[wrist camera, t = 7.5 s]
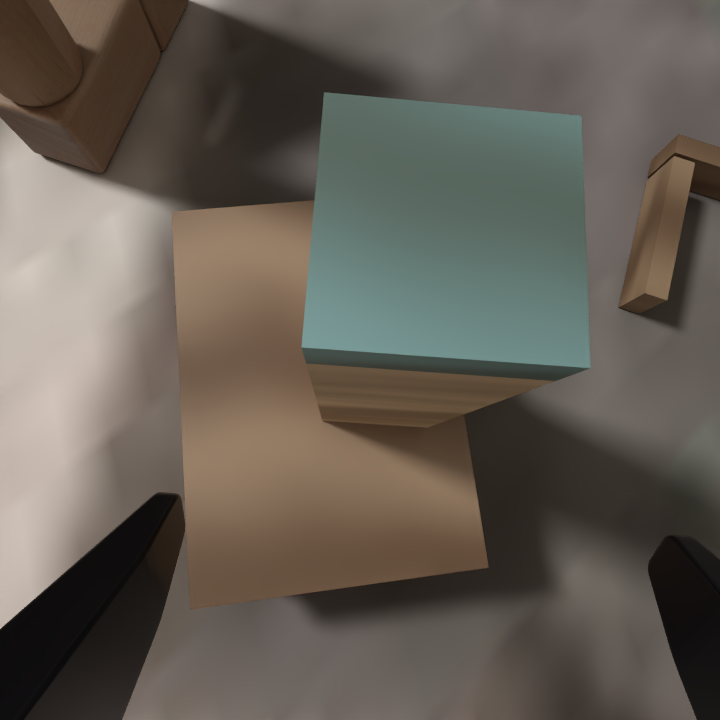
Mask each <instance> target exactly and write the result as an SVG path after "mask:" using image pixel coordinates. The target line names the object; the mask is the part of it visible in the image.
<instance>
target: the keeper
mask: <svg viewBox="0 0 720 720" xmlns="http://www.w3.org/2000/svg"><path fill="white" fill-rule="evenodd" d="M648 177H649V179H648V180H647V183H646V187H645V191H644V196H643V200H642V205H641V209H640V214H639V218H638V223H637V227H636V232H635V236H634V241H633V245H632V249H631V254H630V258H629V263H628V267H627V272H626V276H625V281H624V285H623V290H622V294H621V299H620V303H619V308H622V309H625V310H628V311H631V312H634V313H637V314H640V313H642V312H644V311H647V310H649V309H651V308H653V307H655V306H657V305H659V304H661V303H663V302H665V301H667V299H668V295H669V290H670V285H671V280H672V275H673V270H674V265H675V260H676V255H677V250H678V245H679V240H680V235H681V230H682V225H683V220H684V215H685V210H686V205H687V200H688V195H689V191H692V192H695V193H698V194H701V195H704V196H708V197H711V198H714V199H717V200H720V147H717V146H714V145H710V144H707V143H704V142H701V141H698V140H695V139H692V138H689V137H686V136H683V135H678V136H676V137H675V138H674V139H673V140H672V141H671V142H670V143H669V144H668V145H667V146H666V147H665V148H664V149H663V150H662V151H661V152H660V153H659V154H658V155H656V156H655V157H654V158H653V159H652V160H651V165H650V169H649V174H648Z"/></svg>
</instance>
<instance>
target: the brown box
mask: <svg viewBox="0 0 720 720" xmlns="http://www.w3.org/2000/svg"><path fill="white" fill-rule="evenodd" d="M313 211H314V200H311V201H298V202H286V203H274V204H261V205H249V206H236V207H224V208H212V209H199V210H187V211H174V212H172V228H173V250H174V271H175V293H176V315H177V336H178V358H179V380H180V401H181V423H182V445H183V466H184V488H185V510H186V531H187V553H188V575H189V596H190V609H197V608H204V607H211V606H219V605H226V604H233V603H240V602H247V601H254V600H261V599H269V598H276V597H283V596H290V595H297V594H304V593H312V592H319V591H326V590H333V589H340V588H347V587H354V586H362V585H369V584H376V583H383V582H390V581H397V580H404V579H412V578H419V577H426V576H433V575H440V574H447V573H454V572H462V571H469V570H476V569H483V568H489V566H488V560H487V554H486V548H485V541H484V535H483V529H482V523H481V516H480V510H479V504H478V498H477V491H476V485H475V479H474V473H473V466H472V460H471V454H470V448H469V441H468V435H467V429H466V423H465V416H464V415H461V416H458V417H456V418H453V419H450V420H447V421H445V422H442V423H439V424H436V425H434V426H431V427H428V428H421V427H405V426H390V425H375V424H360V423H345V422H330V421H322V418H321V414H320V411H319V407H318V404H317V400H316V397H315V393H314V390H313V386H312V383H311V379H310V376H309V372H308V369H307V365H306V362H305V358H304V355H303V351H302V348H301V347H302V335H303V324H304V313H305V302H306V290H307V279H308V268H309V256H310V245H311V234H312V223H313Z"/></svg>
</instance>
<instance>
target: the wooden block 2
mask: <svg viewBox="0 0 720 720" xmlns="http://www.w3.org/2000/svg"><path fill="white" fill-rule="evenodd" d="M187 2H188V0H0V117H1V118H2V120H3V121H4V122H5V123H6V124H7V125H8V126H9V127H10V128H11V129H12V130H13V131H14V132H15V133H16V134H17V135H18V136H19V137H20V138H21V139H22V140H23V141H24V142H25V143H26V144H27V145H28V146H29V147H30V148H31V149H32V150H33V151H34V152H35V153H38V154H41V155H44V156H47V157H50V158H53V159H57V160H60V161H63V162H66V163H69V164H72V165H75V166H78V167H81V168H84V169H87V170H90V171H93V172H97V173H103V172H104V171H105V169H106V167H107V165H108V163H109V161H110V159H111V157H112V155H113V153H114V151H115V149H116V147H117V145H118V143H119V141H120V139H121V137H122V135H123V133H124V131H125V129H126V127H127V124H128V122H129V120H130V118H131V116H132V114H133V112H134V110H135V108H136V106H137V104H138V102H139V100H140V98H141V96H142V94H143V92H144V90H145V88H146V86H147V84H148V82H149V80H150V78H151V76H152V74H153V72H154V70H155V68H156V66H157V64H158V61H159V59H160V51H163V50H164V49H165V48H166V46H167V44H168V42H169V40H170V38H171V36H172V34H173V32H174V30H175V28H176V26H177V24H178V22H179V20H180V18H181V16H182V14H183V12H184V10H185V8H186V6H187Z"/></svg>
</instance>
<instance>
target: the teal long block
mask: <svg viewBox="0 0 720 720" xmlns="http://www.w3.org/2000/svg"><path fill="white" fill-rule="evenodd" d="M301 348H302V351H303V355H304V358H305V362H306V365H307V369H308V372H309V376H310V379H311V383H312V386H313V390H314V393H315V397H316V400H317V404H318V407H319V411H320V414H321V418H322V421H330V422H345V423H360V424H375V425H390V426H405V427H421V428H428V427H431V426H434V425H436V424H439V423H442V422H445V421H447V420H450V419H453V418H456V417H458V416H461V415H464V414H466V413H469V412H472V411H475V410H477V409H480V408H483V407H486V406H488V405H491V404H494V403H497V402H499V401H502V400H505V399H507V398H510V397H513V396H516V395H518V394H521V393H524V392H527V391H529V390H532V389H535V388H538V387H540V386H543V385H546V384H548V383H551V382H554V381H557V380H559V379H562V378H565V377H568V376H570V375H573V374H576V373H579V372H581V371H584V370H587V369H589V368H590V341H589V313H588V286H587V258H586V230H585V202H584V175H583V147H582V119H581V116H578V115H567V114H556V113H545V112H534V111H523V110H512V109H501V108H490V107H479V106H469V105H458V104H447V103H436V102H425V101H414V100H403V99H392V98H381V97H370V96H359V95H349V94H338V93H327V92H324V99H323V110H322V121H321V133H320V144H319V155H318V166H317V178H316V189H315V200H314V211H313V223H312V234H311V245H310V256H309V268H308V279H307V290H306V302H305V313H304V324H303V335H302V347H301Z"/></svg>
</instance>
